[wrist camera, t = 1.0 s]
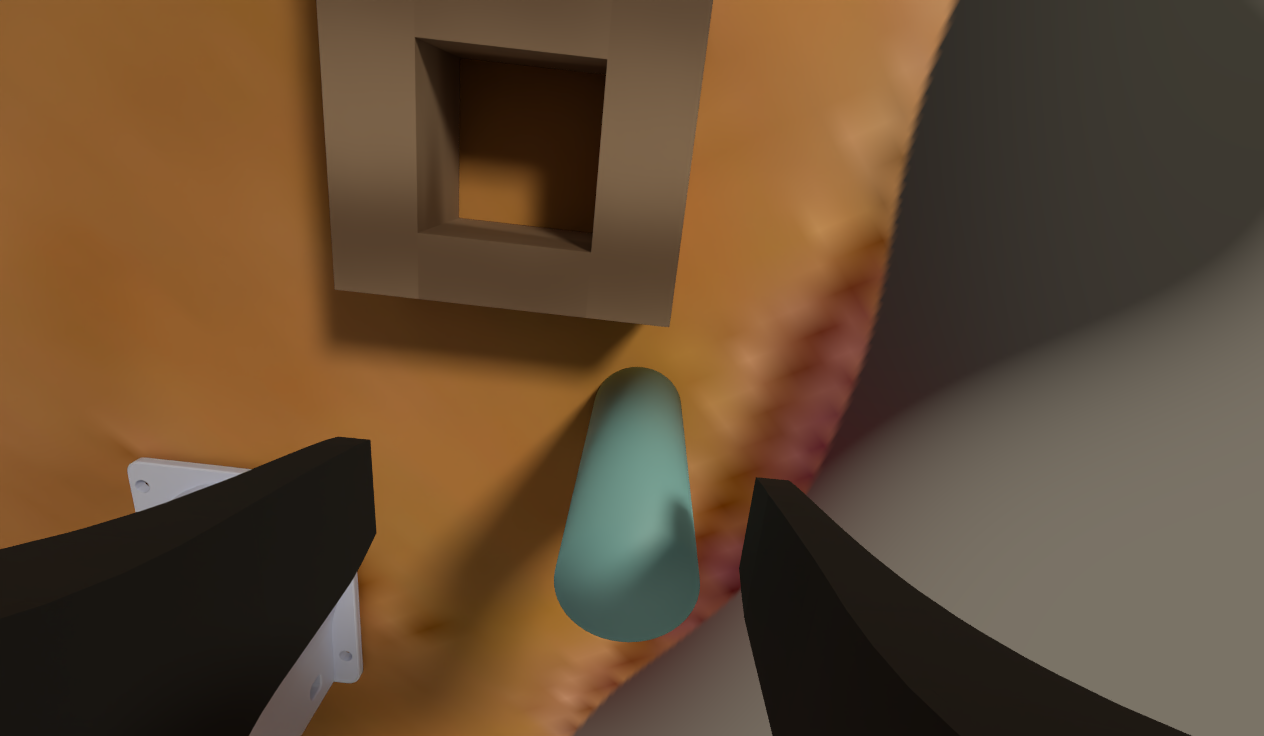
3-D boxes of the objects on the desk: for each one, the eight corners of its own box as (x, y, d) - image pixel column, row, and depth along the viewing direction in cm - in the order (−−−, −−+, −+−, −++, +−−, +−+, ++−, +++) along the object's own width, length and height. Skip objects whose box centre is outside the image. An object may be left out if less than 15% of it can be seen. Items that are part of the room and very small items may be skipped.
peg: (674, 451, 21) (688, 648, 13) (590, 441, 21) (549, 633, 13) (686, 372, 20) (710, 531, 12) (598, 362, 20) (558, 514, 12)
